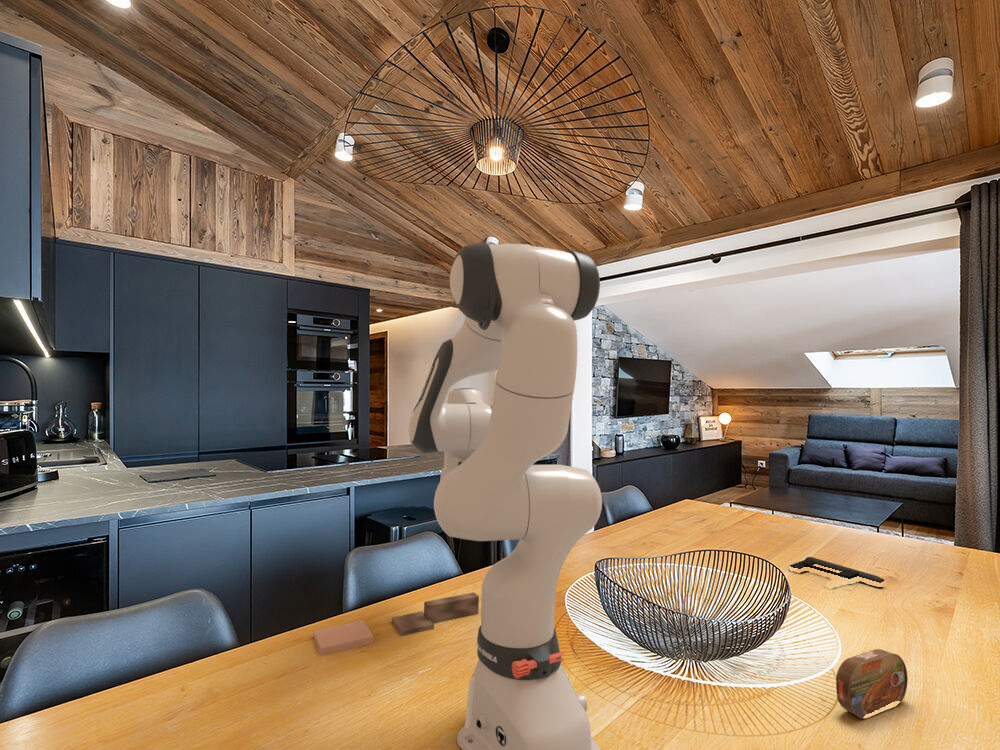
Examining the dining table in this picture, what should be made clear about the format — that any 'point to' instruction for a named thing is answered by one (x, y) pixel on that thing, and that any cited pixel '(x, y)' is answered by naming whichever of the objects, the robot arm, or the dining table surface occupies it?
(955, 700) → the dining table surface
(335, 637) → the tile
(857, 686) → the tin
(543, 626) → the robot arm
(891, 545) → the dining table surface
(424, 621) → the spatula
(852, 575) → the door handle
